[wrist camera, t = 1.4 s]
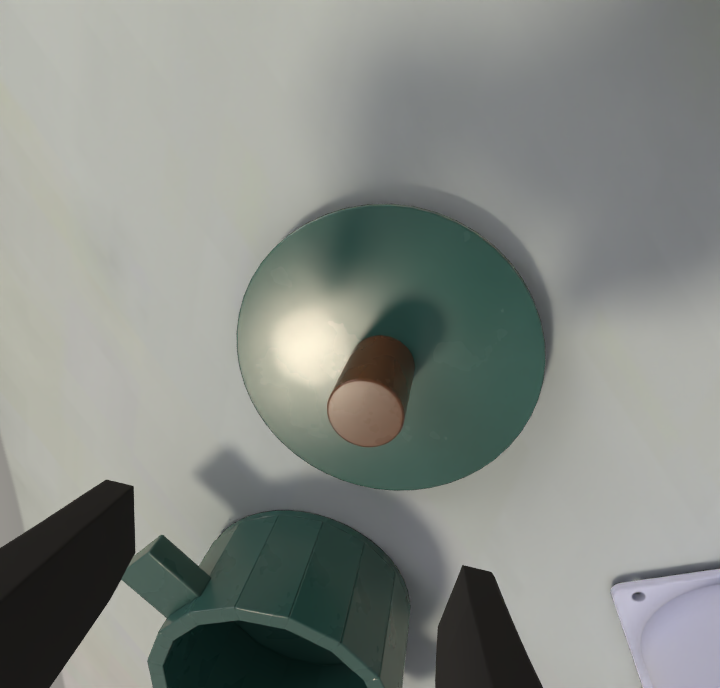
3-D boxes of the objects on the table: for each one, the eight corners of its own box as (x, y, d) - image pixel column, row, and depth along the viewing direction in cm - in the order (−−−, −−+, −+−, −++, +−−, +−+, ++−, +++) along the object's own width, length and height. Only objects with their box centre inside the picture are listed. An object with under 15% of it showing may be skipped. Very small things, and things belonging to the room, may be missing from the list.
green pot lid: (397, 126, 16) (374, 121, 12) (607, 374, 18) (652, 449, 14) (193, 334, 20) (123, 386, 16) (378, 515, 22) (358, 605, 18)
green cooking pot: (260, 431, 22) (201, 517, 17) (490, 654, 24) (497, 785, 19) (132, 535, 26) (56, 628, 21) (341, 716, 28) (316, 837, 24)
